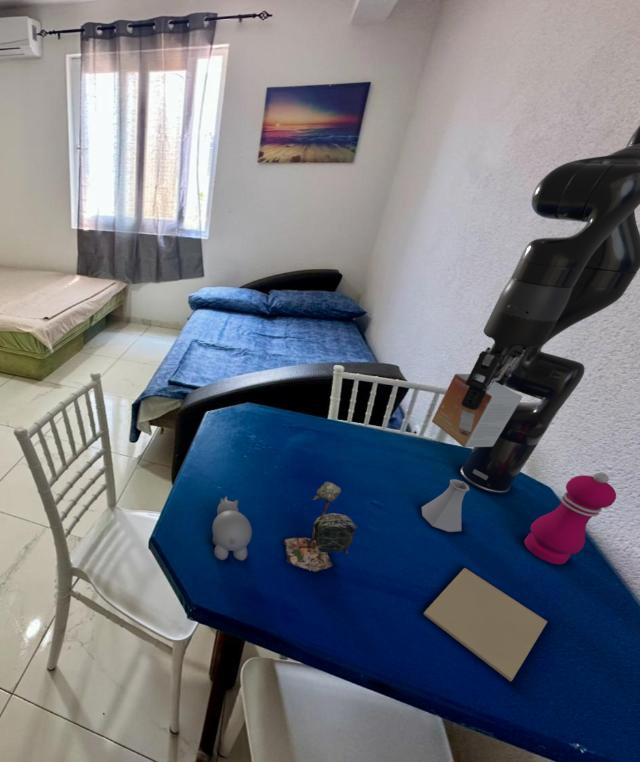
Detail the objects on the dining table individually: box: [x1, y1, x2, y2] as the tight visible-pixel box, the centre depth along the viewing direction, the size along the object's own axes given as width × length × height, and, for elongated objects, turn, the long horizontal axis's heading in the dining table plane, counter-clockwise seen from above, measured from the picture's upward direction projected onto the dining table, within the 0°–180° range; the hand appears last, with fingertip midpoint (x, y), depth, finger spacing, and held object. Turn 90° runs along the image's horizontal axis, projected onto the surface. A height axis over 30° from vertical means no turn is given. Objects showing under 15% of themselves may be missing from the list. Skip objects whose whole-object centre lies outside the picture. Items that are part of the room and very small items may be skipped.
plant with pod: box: [283, 481, 358, 573], centre depth 73 cm, size 8×11×20 cm
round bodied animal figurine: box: [211, 495, 253, 561], centre depth 79 cm, size 7×12×8 cm, turn 174°
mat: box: [423, 567, 548, 682], centre depth 68 cm, size 16×12×1 cm
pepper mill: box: [523, 472, 617, 565], centre depth 76 cm, size 7×7×20 cm
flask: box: [421, 478, 470, 533], centre depth 85 cm, size 7×7×10 cm
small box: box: [431, 373, 523, 448], centre depth 71 cm, size 8×6×10 cm
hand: (479, 401), depth 70 cm, fingers closed on small box, 7 cm apart
